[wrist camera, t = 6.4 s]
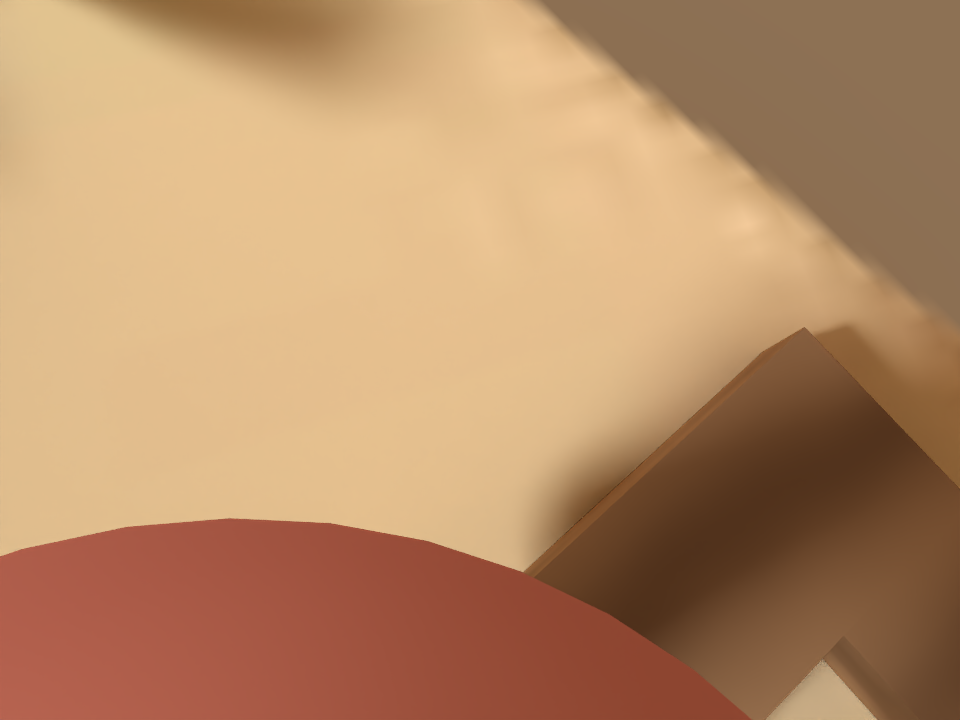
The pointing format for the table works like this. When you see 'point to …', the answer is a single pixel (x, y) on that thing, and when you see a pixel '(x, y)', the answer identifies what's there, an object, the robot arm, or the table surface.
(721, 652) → the jig plate
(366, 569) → the post
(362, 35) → the table surface
